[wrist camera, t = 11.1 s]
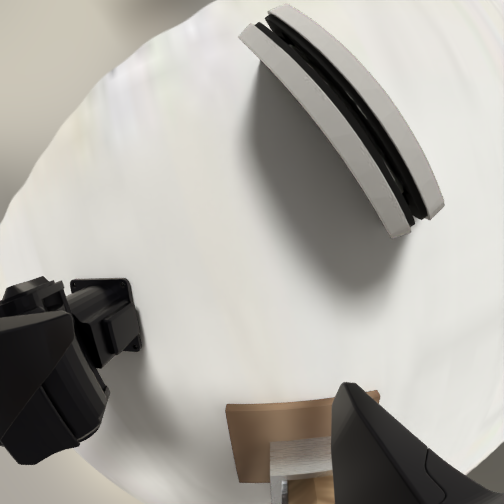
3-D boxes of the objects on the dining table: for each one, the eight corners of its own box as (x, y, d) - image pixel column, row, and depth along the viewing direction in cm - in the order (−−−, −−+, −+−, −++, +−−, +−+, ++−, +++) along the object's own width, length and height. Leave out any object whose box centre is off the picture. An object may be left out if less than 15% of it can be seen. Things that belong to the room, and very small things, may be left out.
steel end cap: (271, 482, 22) (271, 511, 18) (269, 441, 21) (270, 476, 17) (344, 474, 22) (350, 501, 17) (355, 431, 21) (367, 462, 16)
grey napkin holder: (427, 194, 18) (482, 223, 9) (382, 223, 20) (408, 270, 11) (306, 34, 17) (278, -31, 8) (264, 63, 19) (211, 14, 10)
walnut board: (240, 476, 23) (239, 482, 22) (226, 404, 22) (225, 410, 21) (356, 465, 23) (358, 471, 22) (377, 389, 21) (380, 395, 20)
